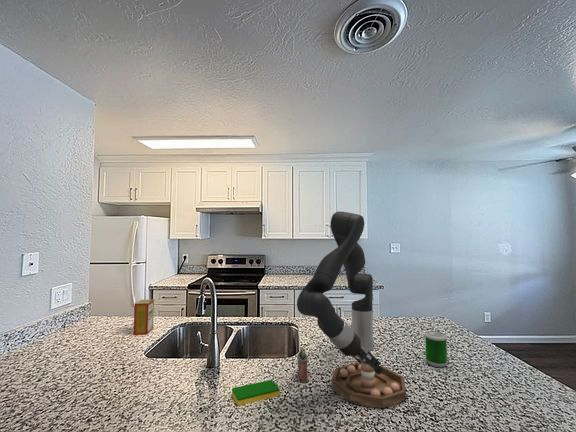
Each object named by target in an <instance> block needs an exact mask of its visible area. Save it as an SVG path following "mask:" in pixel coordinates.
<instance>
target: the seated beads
mask: <svg viewBox="0 0 576 432" xmlns="http://www.w3.org/2000/svg"><path fill="white" fill-rule="evenodd" d="M348 365H349V366H348V367H347V370H346V369H344V368H343V369H341V370H340V376H341V377H342V378H346V377H347V376H348V373H349V374H353V373H355V371H356V370H355V367H354V366H353V365H350V364H348ZM358 371H359V372H361V364H360V365H359V366H358ZM399 391H400V386H399V385H398V384H397V383H392V384H391V385H390V388H389V387H385V388H384V389H383V395H384V396H386V395H389V394H392V393H395V392H399ZM370 395H372V396H378V397H380V396H381V394H380V391H379V390H378V389H372V390H371V392H370Z"/></svg>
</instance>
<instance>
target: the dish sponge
mask: <svg viewBox="0 0 576 432" xmlns="http://www.w3.org/2000/svg"><path fill="white" fill-rule="evenodd" d="M280 391H281V389H280V387H279V386H278V385H277V384H276V382H275V381H274V380H273V379H269V380H263V381H260V382H255V383H250V384H245V385H241V386H235V387H232V388H231V396H232V398H233V400H234V402H235V403H236V405H237V406H242V405H248V404H251V403H252V404H253V403H256V402H259V401H264V400H267V399H271V398H274V397H279V396H280V394H281V393H280Z"/></svg>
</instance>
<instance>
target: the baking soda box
mask: <svg viewBox="0 0 576 432" xmlns="http://www.w3.org/2000/svg"><path fill="white" fill-rule="evenodd" d="M154 309H155V299H140V300H139V301H136V302H134V308H133V310H134V311H133V333H132V334H133V335H132V336H148V334H149V333H151V332H152V330H154V312H155V310H154Z"/></svg>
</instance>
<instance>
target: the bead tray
mask: <svg viewBox="0 0 576 432" xmlns="http://www.w3.org/2000/svg"><path fill="white" fill-rule="evenodd" d="M349 365H353V366H354V367H355V370H356V371H355V373H353V374H349V373H348V376H347V377H346V378H342V377H341V376H340V370H341V369H343V368H344V369H346V370H347V367H348V366H349ZM359 365H360V364H359V362H355V363H351V364H346V365H343V366H339V367H336V368H335V369H334V372H333V375H332V378H331V387H332V388H333V389H334V391H335V393H336V394H337V395H338V396H339V397H341V398H342V399H344V400H346V401H347V402H349V403H351V404H354V405H356V406H357V405H358V406H360V407H361V406H362V407H366V408H372V409H373V408H374V409H380V408H382V409H383V408H391V407H394V406H397V405H400V404H401V403H403V401H404V400H405V399H406V398H407V391H406V382H405V377H404V376H402V375H401V374H398V373H396V372H394V371H393V370H391V369H389V368H387V367H385V366H383V365H379V366H380V367H381V368H382V372H381V373H380V375H379V374H377V373H376V372H375V387H374V388H365V387H363V386H362V385H361V372H359V371H358V366H359ZM392 383H397V384H398V385H399V386H400V391H399V392H395V393H392V394H389V395H386V396H384V395H383V389H384V388H385V387H389V388H390V385H391V384H392ZM372 389H378V390H379V391H380V394H381V396H380V397H378V396H372V395H370V392H371V390H372Z"/></svg>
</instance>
